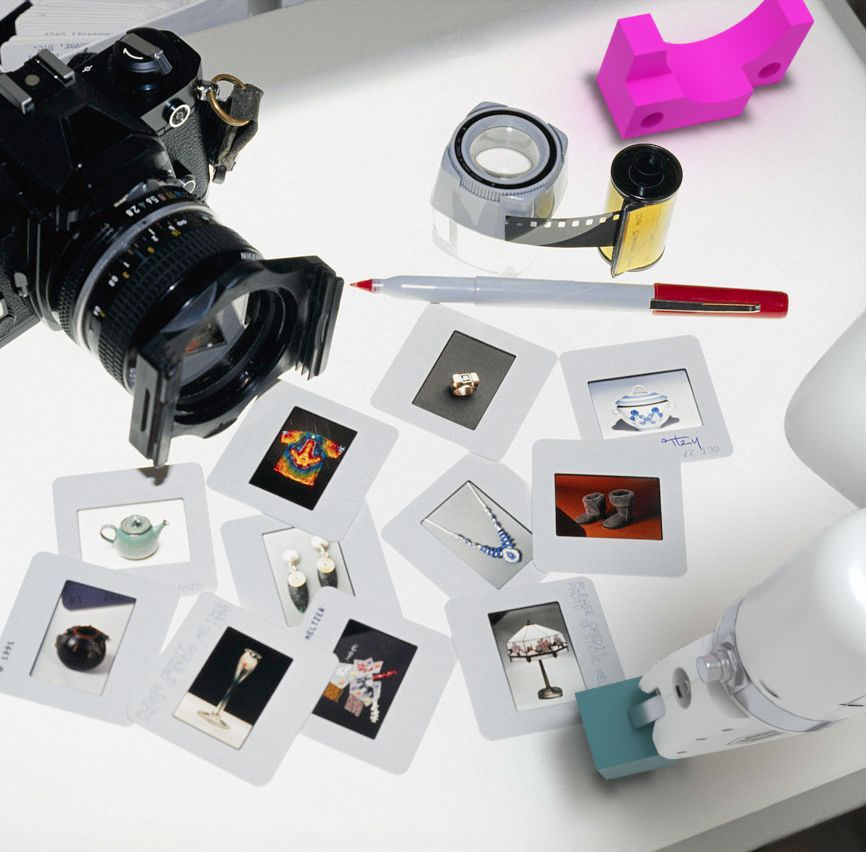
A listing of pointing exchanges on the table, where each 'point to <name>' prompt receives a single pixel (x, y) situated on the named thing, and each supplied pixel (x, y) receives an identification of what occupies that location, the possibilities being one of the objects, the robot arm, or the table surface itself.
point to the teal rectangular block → (618, 730)
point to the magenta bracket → (696, 68)
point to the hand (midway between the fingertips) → (684, 723)
